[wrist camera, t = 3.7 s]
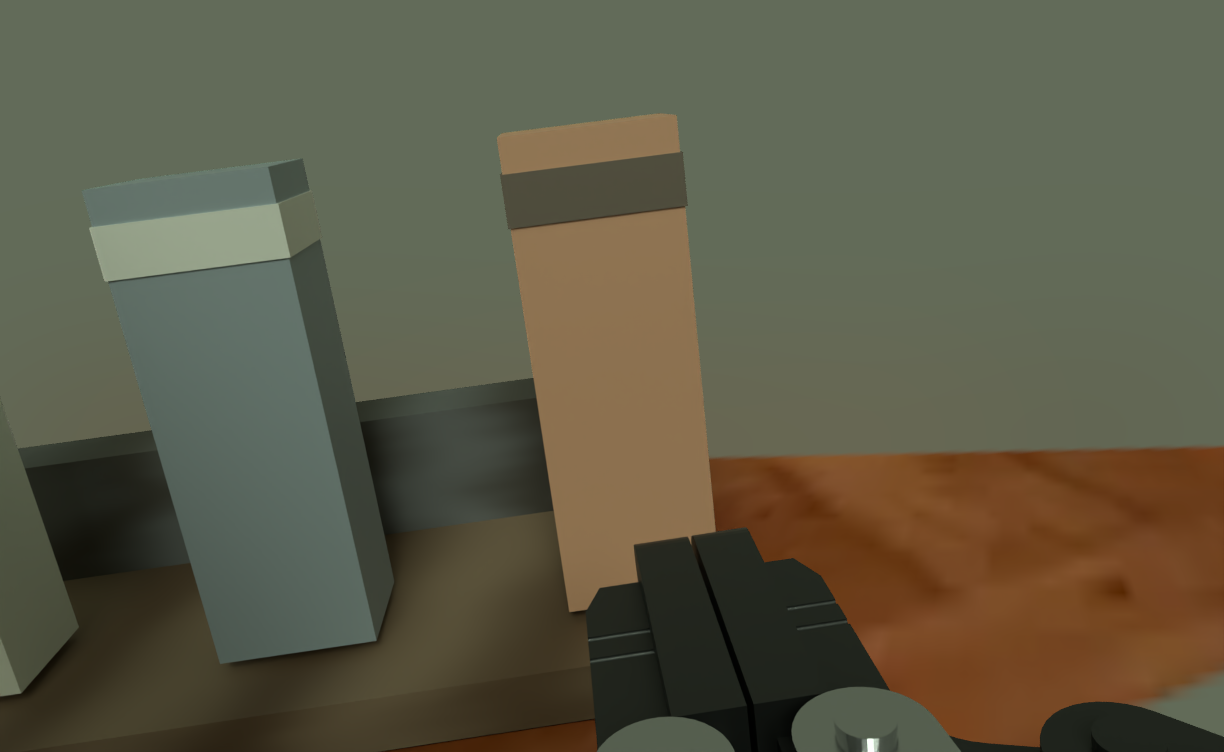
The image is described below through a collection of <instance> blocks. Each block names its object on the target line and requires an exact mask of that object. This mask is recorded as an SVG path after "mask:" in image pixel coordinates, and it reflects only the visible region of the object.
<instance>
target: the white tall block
mask: <svg viewBox="0 0 1224 752" xmlns="http://www.w3.org/2000/svg"><path fill="white" fill-rule="evenodd" d="M78 628H79V626H78V623H77V620H76V617H75V614H74V611H73V608H72V605H71V602H70V600H69V597H68V594H67V591H66V588H65V585H64V582H63V579H62V576H61V573H60V570H59V567H58V565H57V562H56V559H55V556H54V553H53V550H52V547H51V544H50V541H49V538H48V535H47V532H46V530H45V527H44V524H43V521H42V518H41V515H40V512H39V509H38V506H37V503H36V500H35V497H34V495H33V492H32V489H31V486H30V483H29V480H28V477H27V474H26V471H25V468H24V465H23V462H22V459H21V457H20V454H19V451H18V448H17V445H16V442H15V439H14V436H13V433H12V430H11V428H10V424H9V422H8V419H7V416H6V413H5V410H4V408H3V404H2V402H1V398H0V696H7V695H14V694H20V693H22V692H23V691H24V690H25V689H26V687H27V686H28V685H29V684H30V683H31V682H32V681H33V679H34V678H35V677H36V676H37V675H38V674H39V673H40V671H41V670H42V669H43V668H44V667H45V666H46V664H47V663H48V662H49V661H50V660H51V659H52V658H53V656H54V655H55V654H56V653H57V652H58V651H59V650H60V648H61V647H62V646H63V645H64V644H65V643H66V642H67V640H68V639H69V638H70V637H71V636H72V635H73V634H74V632H75V631H76V630H77V629H78Z"/></svg>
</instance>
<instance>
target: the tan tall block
mask: <svg viewBox="0 0 1224 752" xmlns="http://www.w3.org/2000/svg"><path fill="white" fill-rule="evenodd" d="M497 142H498V149H499V155H500V161H501V168H502V173H501V175H500V177H501V184H502V191H503V196H504V204H505V210H506V217H507V223H508V229H511V234H512V240H513V246H514V253H515V260H516V267H517V273H518V280H519V286H520V293H521V299H522V306H523V312H524V319H525V325H526V331H527V339H528V345H529V351H530V358H531V364H532V371H533V378H534V384H535V391H536V397H537V404H538V411H539V417H540V424H541V430H542V437H543V443H544V450H545V456H546V463H547V470H548V476H549V483H550V489H551V496H552V502H553V509H554V515H555V522H556V528H557V535H558V542H559V548H560V555H561V561H562V568H563V574H564V581H565V587H566V594H567V600H568V607H569V612H574V611H581V610H587V609H588V607H589V605H590V604H591V602H592V600H593V598H594V597H595V595H596V593H597V592H598V590H599V588H602V587H609V586H616V585H622V584H629V583H635V582H638V578H637V571H636V563H635V555H634V544H640V543H647V542H653V541H660V540H667V539H673V538H680V537H688V538H689V540H690V543H691V536H692V535H699V534H705V533H712V532H716V530H715V519H714V509H713V498H712V487H711V477H710V466H709V455H708V445H707V434H706V423H705V413H704V402H703V391H702V382H701V370H700V359H699V349H698V339H697V327H696V317H695V306H694V295H693V285H692V274H691V264H690V253H689V242H688V231H687V222H686V210H685V206H687V205H688V204H687V194H686V184H685V173H684V162H683V152H682V151H680V146H679V135H678V125H677V115H669V114H660V113H658V114H651V115H643V116H635V117H627V118H619V119H611V120H604V121H596V122H587V123H579V124H571V125H564V126H555V127H548V128H540V129H532V130H525V131H516V132H509V133H502V134H501V135H500V136H498V137H497Z"/></svg>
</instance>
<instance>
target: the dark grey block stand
mask: <svg viewBox="0 0 1224 752" xmlns="http://www.w3.org/2000/svg"><path fill="white" fill-rule="evenodd" d="M356 407H357V412H358V416H359V421H360V425H361V430H362V435H363V439H364V444H365V448H366V453H367V458H368V462H369V467H370V471H371V476H372V481H373V485H374V490H375V494H376V499H377V504H378V508H379V513H380V517H381V522H382V527H383V531H384V536H385V540H386V545H387V550H388V554H389V559H390V563H391V568H392V573H393V577H394V584H393V588H392V591H391V594H390V598H389V601H388V604H387V608H386V611H385V614H384V618H383V621H382V624H381V628H380V631H379V634H378V638H377V641H372V642H365V643H358V644H351V645H345V646H338V647H331V648H324V649H318V650H311V651H304V652H297V653H291V654H284V655H277V656H270V657H264V658H257V659H250V660H243V661H237V662H230V663H223V664H220V662H219V659H218V655H217V652H216V648H215V645H214V642H213V638H212V635H211V631H210V628H209V624H208V621H207V618H206V614H205V611H204V607H203V604H202V600H201V597H200V594H199V590H198V587H197V583H196V580H195V577H194V573H193V570H192V566H191V563H190V559H189V556H188V553H187V549H186V546H185V542H184V539H183V535H182V532H181V529H180V525H179V522H178V518H177V515H176V512H175V508H174V505H173V501H172V498H171V494H170V491H169V488H168V484H167V481H166V477H165V474H164V471H163V467H162V464H161V460H160V457H159V453H158V450H157V447H156V443H155V440H154V436H153V433H152V430H151V431H144V432H137V433H129V434H122V435H115V436H108V437H100V438H93V439H86V440H79V441H71V442H64V443H57V444H49V445H42V446H35V447H28V448H20V449H18V451H19V454H20V457H21V459H22V462H23V465H24V468H25V471H26V474H27V477H28V480H29V483H30V486H31V489H32V492H33V495H34V497H35V500H36V503H37V506H38V509H39V512H40V515H41V518H42V521H43V524H44V527H45V530H46V532H47V535H48V538H49V541H50V544H51V547H52V550H53V553H54V556H55V559H56V562H57V565H58V567H59V570H60V573H61V576H62V579H63V582H64V585H65V588H66V591H67V594H68V597H69V600H70V602H71V605H72V608H73V611H74V614H75V617H76V620H77V623H78V626H79V628H78V629H77V630H76V631H75V632H74V634H73V635H72V636H71V637H70V638H69V639H68V640H67V642H66V643H65V644H64V645H63V646H62V647H61V648H60V650H59V651H58V652H57V653H56V654H55V655H54V656H53V658H52V659H51V660H50V661H49V662H48V663H47V664H46V666H45V667H44V668H43V669H42V670H41V671H40V673H39V674H38V675H37V676H36V677H35V678H34V679H33V681H32V682H31V683H30V684H29V685H28V686H27V687H26V689H25V690H24V691H23V692H22V693H20V694H14V695H7V696H0V752H380V751H386V750H393V749H399V748H406V747H412V746H419V745H425V744H432V743H438V742H445V741H452V740H458V739H465V738H471V737H478V736H484V735H491V734H497V733H504V732H510V731H517V730H524V729H530V728H537V727H543V726H550V725H556V724H563V723H569V722H576V721H582V720H589V719H595V712H594V701H593V690H592V679H591V668H590V657H589V646H588V635H587V624H586V613H585V612H586V610H581V611H574V612H569V607H568V600H567V594H566V587H565V581H564V574H563V568H562V561H561V555H560V548H559V542H558V535H557V528H556V522H555V515H554V509H553V502H552V496H551V489H550V483H549V476H548V470H547V463H546V456H545V450H544V443H543V437H542V430H541V424H540V417H539V411H538V404H537V397H536V391H535V384H534V378H530V379H523V380H515V381H508V382H501V383H493V384H486V385H479V386H472V387H464V388H457V389H450V390H442V391H436V392H428V393H420V394H413V395H406V396H399V397H392V398H384V399H377V400H369V401H362V402H356Z"/></svg>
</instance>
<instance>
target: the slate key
mask: <svg viewBox="0 0 1224 752" xmlns="http://www.w3.org/2000/svg"><path fill="white" fill-rule="evenodd" d="M82 194H83V197H84V200H85V204H86V207H87V210H88V214H89V217H90V221H91V224H92V227H91V228H89V230H90V233H91V237H92V239H93V243H94V247H95V250H96V254H97V257H98V260H99V264H100V267H101V270H102V274H103V277H104V281H105V282H107V281H108V282H109V286H110V289H111V293H112V296H113V299H114V303H115V306H116V310H117V313H118V317H119V320H120V323H121V327H122V330H123V334H124V337H125V341H126V344H127V347H128V351H129V354H130V358H131V361H132V365H133V368H134V371H135V375H136V378H137V382H138V385H139V388H140V392H141V395H142V399H143V402H144V406H145V409H146V412H147V416H148V419H149V423H150V426H151V429H152V433H153V436H154V440H155V443H156V447H157V450H158V453H159V457H160V460H161V464H162V467H163V471H164V474H165V477H166V481H167V484H168V488H169V491H170V494H171V498H172V501H173V505H174V508H175V512H176V515H177V518H178V522H179V525H180V529H181V532H182V535H183V539H184V542H185V546H186V549H187V553H188V556H189V559H190V563H191V566H192V570H193V573H194V577H195V580H196V583H197V587H198V590H199V594H200V597H201V600H202V604H203V607H204V611H205V614H206V618H207V621H208V624H209V628H210V631H211V635H212V638H213V642H214V645H215V648H216V652H217V655H218V659H219V662H220V664H223V663H230V662H237V661H243V660H250V659H257V658H264V657H270V656H277V655H284V654H291V653H297V652H304V651H311V650H318V649H324V648H331V647H338V646H345V645H351V644H358V643H365V642H372V641H377V638H378V634H379V631H380V628H381V624H382V621H383V618H384V614H385V611H386V608H387V604H388V601H389V598H390V594H391V591H392V588H393V584H394V577H393V573H392V568H391V563H390V559H389V554H388V550H387V545H386V540H385V536H384V531H383V527H382V522H381V517H380V513H379V508H378V504H377V499H376V494H375V490H374V485H373V481H372V476H371V471H370V467H369V462H368V458H367V453H366V448H365V444H364V439H363V435H362V430H361V425H360V421H359V416H358V412H357V407H356V402H355V398H354V393H353V389H352V384H351V379H350V375H349V370H348V366H347V361H346V356H345V352H344V347H343V342H342V338H341V334H340V329H339V324H338V320H337V315H336V310H335V306H334V301H333V297H332V292H331V287H330V283H329V278H328V273H327V269H326V264H325V260H324V256H323V251H322V246H321V242H320V239H321V238H322V234H321V230H320V225H319V221H318V216H317V211H316V207H315V202H314V197H313V193H312V190H311V191H309V186H308V181H307V177H306V172H305V168H304V163H303V159H294V160H286V161H279V162H270V163H263V164H254V165H247V166H239V167H231V168H223V169H215V170H207V171H199V172H191V173H184V174H175V175H167V176H159V177H152V178H144V179H137V180H132V181H128V182H122V183H117V184H112V185H106V186H101V187H96V188H91V189H86V190H82Z"/></svg>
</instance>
